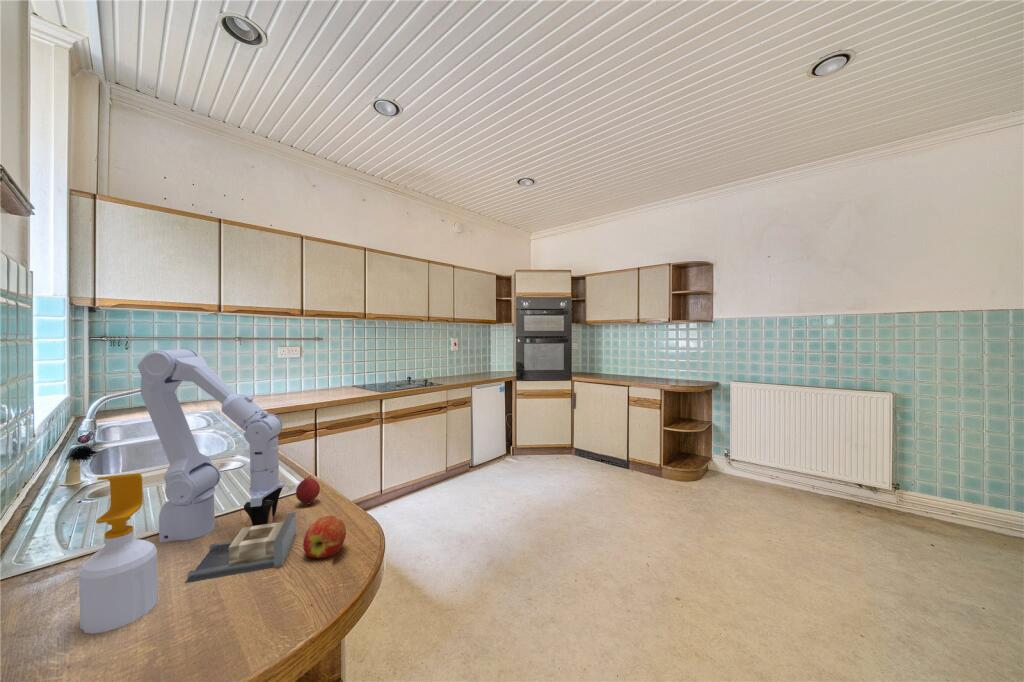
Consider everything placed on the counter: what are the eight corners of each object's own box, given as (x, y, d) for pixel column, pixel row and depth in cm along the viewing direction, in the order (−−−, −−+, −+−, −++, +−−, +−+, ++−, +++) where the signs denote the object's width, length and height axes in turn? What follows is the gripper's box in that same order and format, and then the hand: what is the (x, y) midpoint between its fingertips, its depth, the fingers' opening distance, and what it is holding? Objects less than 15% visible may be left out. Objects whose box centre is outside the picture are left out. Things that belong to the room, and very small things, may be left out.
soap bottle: (66, 647, 58) (61, 487, 57) (101, 607, 66) (97, 467, 66) (142, 629, 62) (139, 478, 61) (167, 593, 70) (164, 460, 69)
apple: (297, 567, 78) (297, 528, 77) (315, 544, 86) (314, 509, 86) (338, 565, 78) (337, 527, 78) (351, 542, 87) (351, 508, 86)
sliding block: (229, 567, 76) (228, 547, 75) (242, 545, 83) (242, 527, 83) (275, 559, 78) (275, 540, 78) (284, 539, 86) (284, 521, 86)
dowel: (256, 535, 90) (255, 506, 89) (259, 529, 92) (258, 501, 92) (271, 533, 91) (270, 504, 90) (274, 526, 93) (272, 499, 93)
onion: (309, 509, 103) (309, 480, 102) (291, 507, 104) (290, 478, 104) (324, 500, 108) (324, 472, 108) (306, 498, 109) (306, 470, 109)
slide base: (184, 588, 71) (184, 556, 71) (213, 550, 84) (213, 523, 83) (282, 571, 76) (282, 541, 76) (296, 537, 89) (295, 512, 89)
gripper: (275, 476, 86) (276, 535, 86) (290, 456, 99) (291, 507, 100) (238, 480, 83) (240, 541, 84) (258, 459, 97) (259, 511, 97)
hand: (265, 523), depth 91 cm, fingers open, 7 cm apart
